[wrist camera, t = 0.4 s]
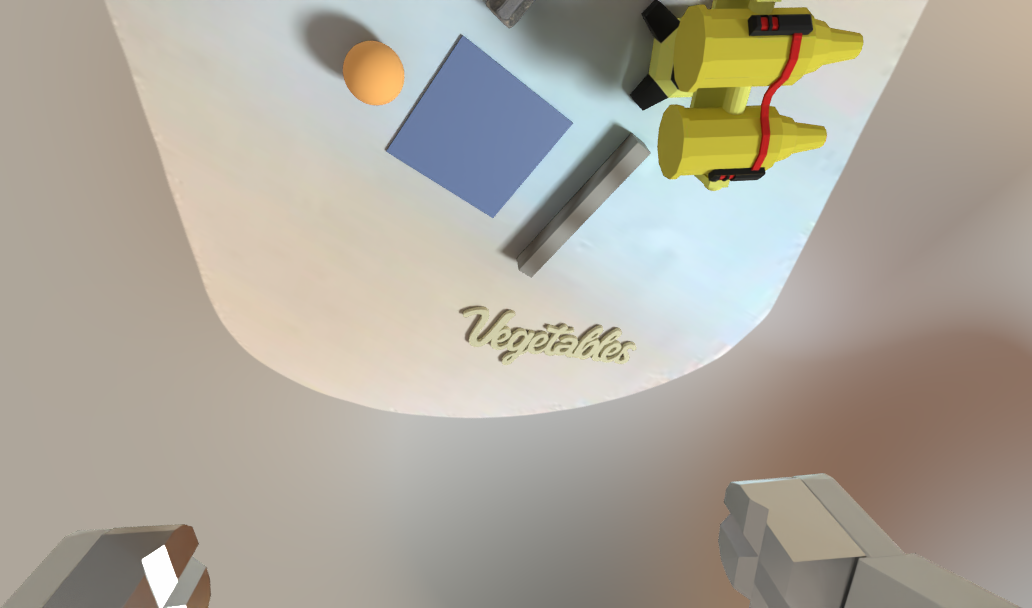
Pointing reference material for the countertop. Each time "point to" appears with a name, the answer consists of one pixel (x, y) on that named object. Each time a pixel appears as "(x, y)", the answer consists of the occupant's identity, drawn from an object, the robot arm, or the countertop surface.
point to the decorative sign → (548, 340)
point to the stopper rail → (583, 204)
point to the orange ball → (373, 73)
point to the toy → (733, 85)
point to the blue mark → (478, 130)
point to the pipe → (509, 10)
